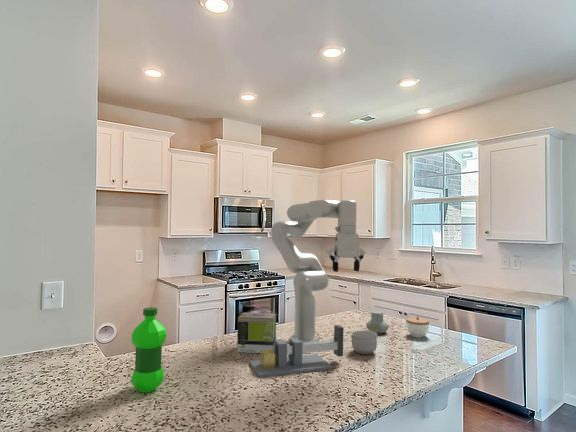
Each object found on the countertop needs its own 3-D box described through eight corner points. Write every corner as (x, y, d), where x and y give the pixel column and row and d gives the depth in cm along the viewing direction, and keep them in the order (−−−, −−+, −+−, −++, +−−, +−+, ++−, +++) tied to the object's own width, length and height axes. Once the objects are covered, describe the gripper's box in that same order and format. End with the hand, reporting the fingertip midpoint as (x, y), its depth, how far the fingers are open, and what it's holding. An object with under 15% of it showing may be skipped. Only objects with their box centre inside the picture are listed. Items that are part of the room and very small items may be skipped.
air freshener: (390, 332, 194) (390, 312, 194) (385, 335, 187) (385, 315, 187) (369, 328, 199) (369, 309, 200) (363, 332, 192) (364, 312, 193)
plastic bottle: (152, 379, 127) (155, 304, 128) (171, 388, 120) (173, 309, 121) (123, 389, 119) (126, 308, 120) (141, 399, 112) (144, 314, 113)
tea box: (275, 347, 165) (276, 312, 165) (272, 354, 155) (273, 318, 155) (241, 345, 166) (242, 311, 167) (236, 352, 156) (237, 316, 157)
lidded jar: (406, 337, 184) (406, 318, 185) (405, 331, 195) (406, 313, 195) (429, 339, 181) (429, 320, 182) (428, 334, 192) (428, 315, 192)
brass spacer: (270, 363, 142) (260, 364, 141) (270, 349, 142) (260, 350, 141) (274, 367, 138) (263, 368, 136) (274, 353, 138) (264, 354, 136)
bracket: (249, 363, 144) (249, 338, 144) (316, 356, 153) (317, 333, 154) (258, 377, 131) (259, 349, 131) (332, 369, 140) (332, 343, 141)
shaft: (281, 358, 143) (281, 329, 143) (338, 352, 151) (338, 325, 152) (284, 362, 139) (285, 331, 140) (343, 356, 147) (343, 327, 148)
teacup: (370, 358, 153) (370, 338, 154) (346, 352, 160) (346, 333, 160) (383, 350, 164) (384, 331, 165) (361, 344, 171) (361, 326, 171)
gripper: (332, 229, 152) (331, 272, 151) (369, 230, 158) (369, 272, 157) (324, 229, 159) (323, 270, 158) (360, 230, 165) (359, 270, 164)
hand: (346, 271), depth 158 cm, fingers open, 9 cm apart
